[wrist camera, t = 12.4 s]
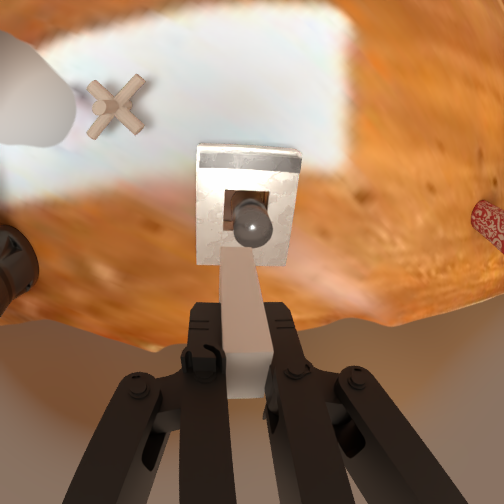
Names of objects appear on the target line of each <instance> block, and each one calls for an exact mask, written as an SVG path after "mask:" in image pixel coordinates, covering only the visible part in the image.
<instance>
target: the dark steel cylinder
mask: <svg viewBox="0 0 504 504" xmlns="http://www.w3.org/2000/svg"><path fill="white" fill-rule="evenodd" d="M231 211H232V222H233V233H234V237H235V239H236V241H237V242H238V243H239V244H240V245H242V246H244V247H251V248H258V247H261V246H263V245H265V244H266V243H267V242H268V241H269V240H270V238H271V236H272V233H273V226H272V223H271V220H270V218H269V215H268V213H267V210H266V208H265V205H264V203H263V201H262V198H261V196H260V194H259V193H258V192H257V191H248V190H239V191H237V192H236V193H235V194H234V195H233V197H232V199H231Z"/></svg>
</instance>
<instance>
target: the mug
mask: <svg viewBox="0 0 504 504" xmlns="http://www.w3.org/2000/svg"><path fill="white" fill-rule="evenodd" d="M471 224H472V226H473V227H474V228H475V229H476V230H477V231H478V232H480V233H481V234H482V235H483V236H484V237H485V238H486V239H488V240H489V241H490V242H491V243H492V244H493V245H494V246H495V247H496V248H497V249H498V250H500V251H501V252H502V253H503V254H504V210H502V209H500V208H498V207H496V206H494V205H493V204H491V203H489V202H487V201H485V200H482V201H480V202H478V203H477V205H476V206H475V208H474V210H473V212H472V216H471Z"/></svg>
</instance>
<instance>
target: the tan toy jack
mask: <svg viewBox="0 0 504 504" xmlns="http://www.w3.org/2000/svg"><path fill="white" fill-rule="evenodd" d="M145 82H146V81H145V80H144V79H143V78H142V77H141V76H139V75H138V74H135V75H134V76H133V77H132V78H131V80H130V81H129V82H128V83H127V84H126V85H125V86H124V87H123V88H122V89H121V91H120V92H119V93H118V94H117V95H116V96H115V97H114V96H113V95H112V94H111V93H110V92H109V91H107V90H106V89H105V88H104V87H103V86H102V85H101V84H100V83H99V82H98V81H97V80H94V81H92V82H91V83H90V84H89V85H88V87H87V89H86V90H87V91H88V92H89V93H90V94H92V95H93V96H94V97H95V98H96V99H97V100H98V101H96V102H95V103H94V104H93V107H92V111H93V113H94V114H95V115H100V116H99V117H98V118H97V119H96V121H95V122H94V123H93V125H92V126H91V127H90V129H89V130H88V131H87V135H88V136H89V137H90V138H91V139H94V140H96V139H97V138H98V136H99V135H100V134H101V132H102V131H103V130H104V129H105V127H106V126H107V125H108V124H109V122H110V121H111V120H112V119H113V118H114V116H115V117H116V118H117V119H118V120H119V121H120V122H121V123H122V124H123V125H125V126H126V127H127V128H128V129H129V130H130V131H131V132H132V133H133V134H134V135H137V134H138V133H139V132H140V131H141V130H142V129H143V128H144V126H145V125H144V124H143V123H142V122H141V121H140V120H139V119H138V118H136V117H135V116H134V115H133V114H132V113H131V112H130V110H131V109H132V102H131V101H130V100H129V99H130V98H131V97H132V96H133V95H134V94H135V93H136V91H137V90H138V89H139V88H140V87H141V86H142V85H143V84H144V83H145Z"/></svg>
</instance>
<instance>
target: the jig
mask: <svg viewBox="0 0 504 504" xmlns="http://www.w3.org/2000/svg"><path fill="white" fill-rule="evenodd" d="M301 156H302V153H301V152H300V151H298V150H297V149H291V148H281V147H269V146H256V145H239V144H212V143H199V145H198V146H197V170H196V258H197V265H220V247H221V246H223V247H244V246H242V245H240V244H239V243H238V242H237V241H236V239H235V237H234V233H233V222H232V221H223V214H224V192H225V190H248V191H265V198H264V205H265V208H266V210H267V213H268V215H269V218H270V220H271V223H272V226H273V233H272V236H271V238H270V240H269V241H268V242H267V243H266V244H265V245H263V246H261V247H258V248H252V252H253V257H254V262H255V266H286V260H287V254H288V248H289V241H290V235H291V228H292V221H293V215H294V208H295V201H296V194H297V186H298V179H299V173H300V169H301V161H302V159H301Z"/></svg>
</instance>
